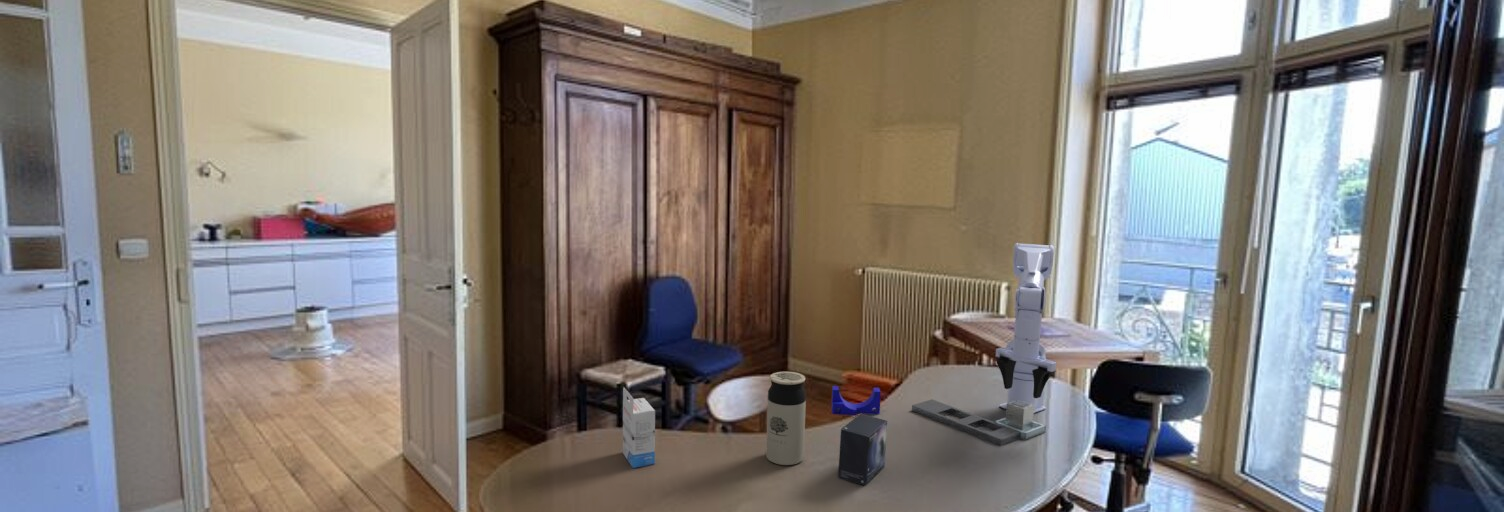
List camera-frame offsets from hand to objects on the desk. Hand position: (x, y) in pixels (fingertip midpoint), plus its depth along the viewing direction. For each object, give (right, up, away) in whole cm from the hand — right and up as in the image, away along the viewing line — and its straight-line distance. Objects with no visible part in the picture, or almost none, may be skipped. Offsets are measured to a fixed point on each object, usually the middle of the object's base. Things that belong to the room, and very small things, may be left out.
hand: (1022, 392), depth 159 cm
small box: (-42, -12, -23) cm, 50 cm away
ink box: (-89, -10, -19) cm, 91 cm away
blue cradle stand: (-38, -7, +11) cm, 41 cm away
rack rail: (-13, -9, +4) cm, 16 cm away
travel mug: (-58, -11, -17) cm, 61 cm away
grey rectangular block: (0, -9, +1) cm, 9 cm away
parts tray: (0, -9, +1) cm, 9 cm away
